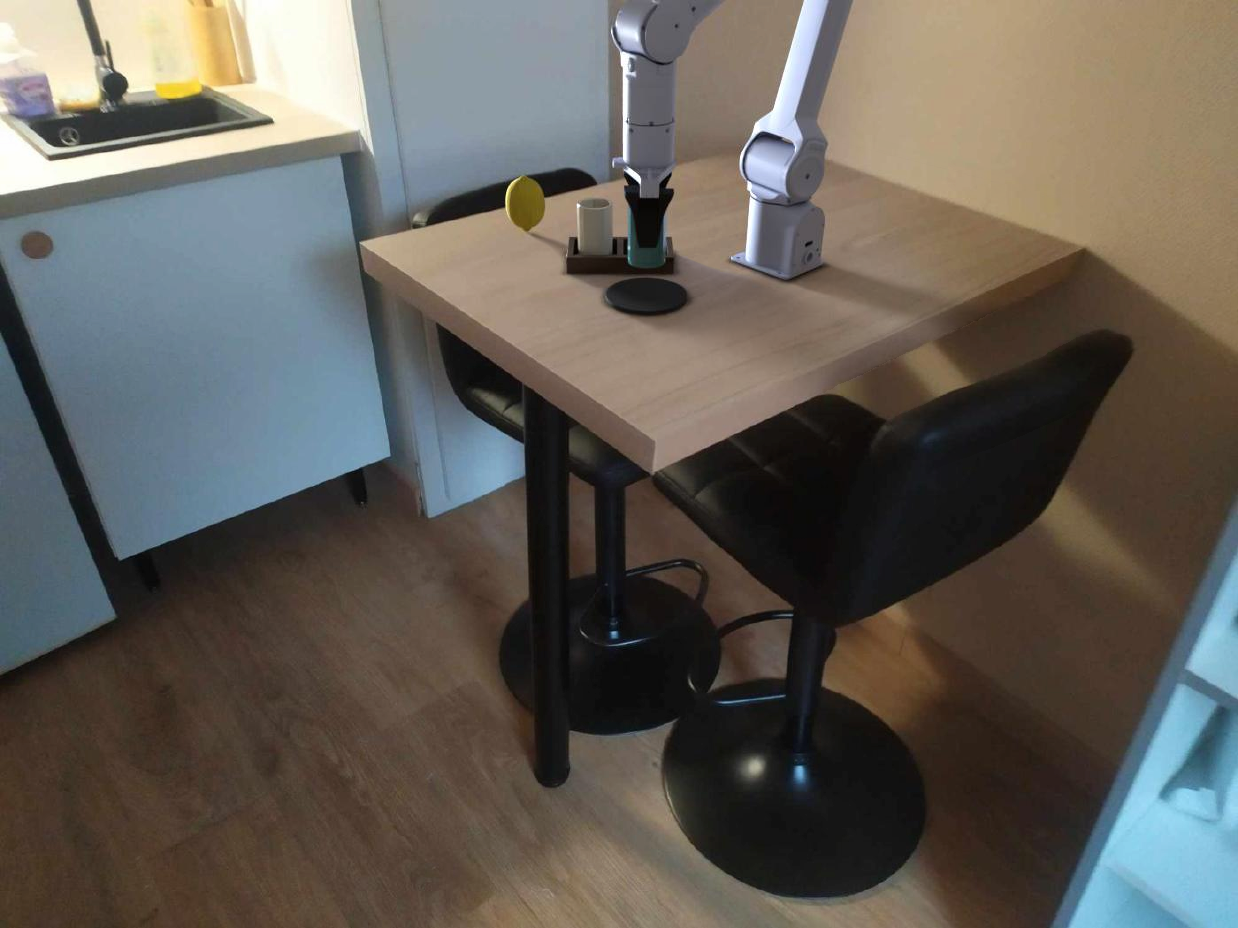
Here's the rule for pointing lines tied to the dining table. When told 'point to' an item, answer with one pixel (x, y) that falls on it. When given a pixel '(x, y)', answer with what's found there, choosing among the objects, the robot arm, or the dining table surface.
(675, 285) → the coaster
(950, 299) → the dining table surface
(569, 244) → the holder
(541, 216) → the lemon
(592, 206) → the cream cup
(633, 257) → the teal cup
